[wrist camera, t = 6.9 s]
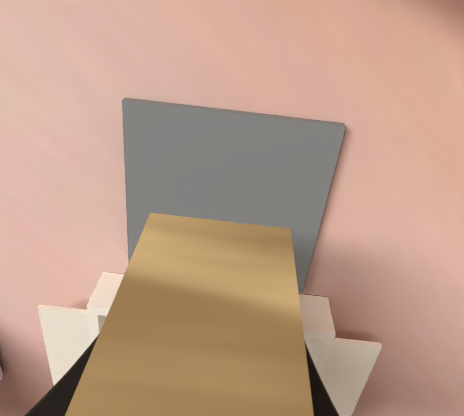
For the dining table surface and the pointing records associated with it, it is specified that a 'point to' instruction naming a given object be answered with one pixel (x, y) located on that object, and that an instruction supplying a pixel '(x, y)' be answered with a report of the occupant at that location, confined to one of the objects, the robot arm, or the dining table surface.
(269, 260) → the walnut block
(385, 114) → the dining table surface
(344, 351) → the white tray
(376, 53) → the dining table surface
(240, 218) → the mat
